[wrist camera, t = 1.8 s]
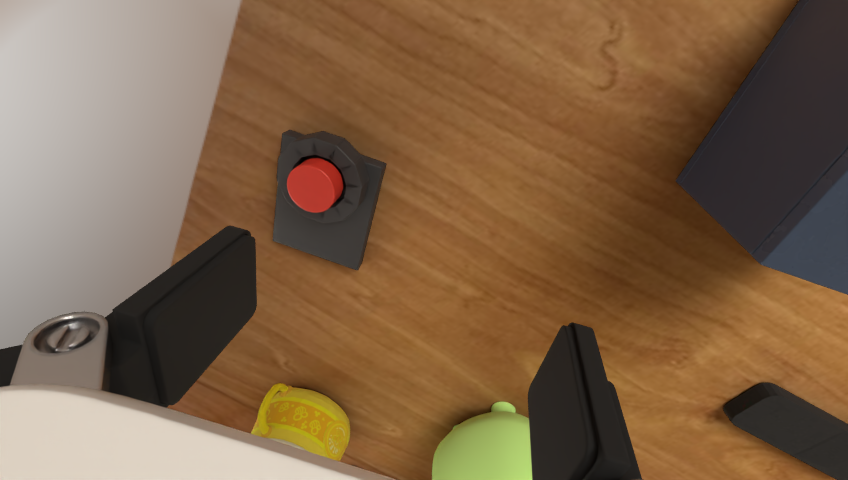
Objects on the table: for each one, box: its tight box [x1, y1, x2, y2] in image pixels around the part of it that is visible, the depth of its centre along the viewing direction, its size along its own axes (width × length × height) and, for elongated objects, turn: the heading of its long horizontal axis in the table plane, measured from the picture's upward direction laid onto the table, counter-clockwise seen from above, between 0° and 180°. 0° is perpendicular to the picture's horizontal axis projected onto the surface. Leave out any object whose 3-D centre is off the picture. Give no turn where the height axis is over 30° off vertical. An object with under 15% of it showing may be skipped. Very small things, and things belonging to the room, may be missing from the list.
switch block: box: [273, 130, 386, 270], centre depth 31 cm, size 11×8×3 cm
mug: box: [251, 383, 350, 461], centre depth 42 cm, size 13×11×12 cm
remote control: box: [723, 383, 848, 480], centre depth 35 cm, size 5×2×15 cm
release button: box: [287, 158, 343, 213], centre depth 28 cm, size 4×4×2 cm
